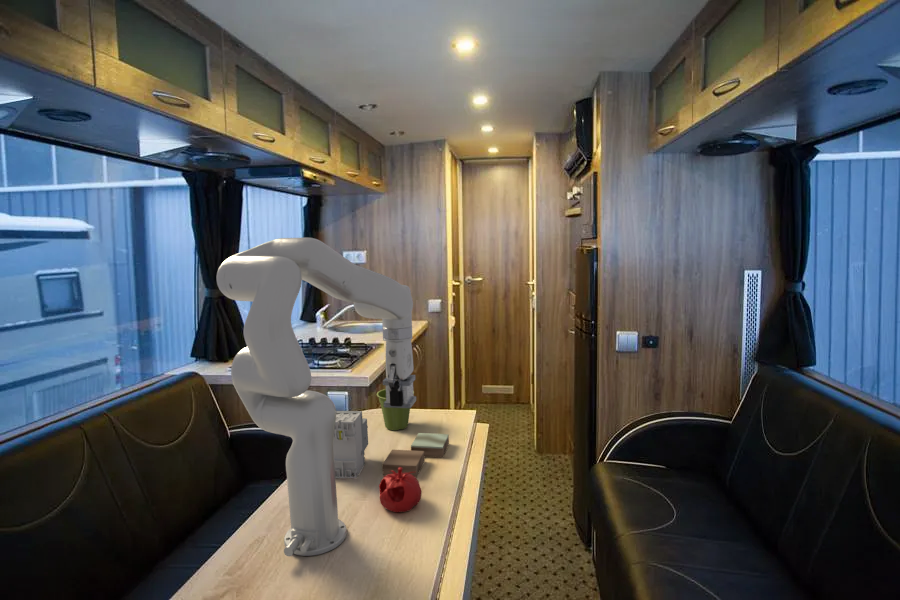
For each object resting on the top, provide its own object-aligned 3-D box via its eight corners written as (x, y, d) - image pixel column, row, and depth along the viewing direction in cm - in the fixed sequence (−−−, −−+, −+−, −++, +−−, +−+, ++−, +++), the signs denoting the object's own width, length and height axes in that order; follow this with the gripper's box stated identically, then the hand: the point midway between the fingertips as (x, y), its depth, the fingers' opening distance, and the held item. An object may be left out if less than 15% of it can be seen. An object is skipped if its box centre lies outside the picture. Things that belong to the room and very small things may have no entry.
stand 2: (443, 457, 147) (442, 447, 146) (411, 455, 149) (410, 445, 148) (448, 443, 156) (448, 434, 155) (418, 442, 157) (418, 432, 157)
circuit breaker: (370, 454, 151) (367, 403, 148) (357, 478, 137) (353, 422, 134) (344, 453, 151) (341, 403, 149) (328, 477, 137) (324, 422, 135)
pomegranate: (402, 490, 130) (401, 454, 129) (430, 504, 123) (429, 466, 122) (369, 506, 123) (368, 467, 122) (397, 521, 116) (395, 481, 115)
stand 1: (416, 477, 136) (416, 466, 136) (382, 475, 138) (382, 464, 137) (424, 461, 145) (424, 451, 144) (392, 459, 146) (392, 449, 146)
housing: (410, 408, 135) (409, 381, 134) (383, 407, 136) (382, 380, 135) (416, 400, 141) (415, 374, 140) (390, 399, 142) (389, 374, 141)
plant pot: (414, 433, 165) (413, 398, 163) (376, 434, 164) (374, 399, 163) (416, 419, 176) (415, 386, 175) (380, 420, 176) (378, 387, 174)
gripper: (402, 340, 127) (405, 413, 129) (419, 327, 144) (422, 391, 146) (372, 340, 128) (375, 412, 130) (393, 327, 145) (395, 391, 147)
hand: (400, 400), depth 138 cm, fingers closed on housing, 6 cm apart
